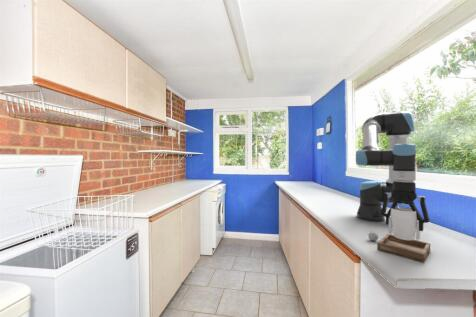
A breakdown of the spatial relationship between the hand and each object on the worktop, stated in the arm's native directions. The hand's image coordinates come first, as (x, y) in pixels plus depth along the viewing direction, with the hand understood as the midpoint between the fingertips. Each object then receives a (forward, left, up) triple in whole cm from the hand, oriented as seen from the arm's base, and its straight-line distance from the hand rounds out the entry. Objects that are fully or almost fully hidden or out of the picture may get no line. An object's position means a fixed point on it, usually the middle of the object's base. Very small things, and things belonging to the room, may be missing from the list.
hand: (403, 235), depth 91 cm
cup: (0, 0, -1) cm, 1 cm away
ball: (-3, -12, -6) cm, 14 cm away
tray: (0, 0, -6) cm, 6 cm away
